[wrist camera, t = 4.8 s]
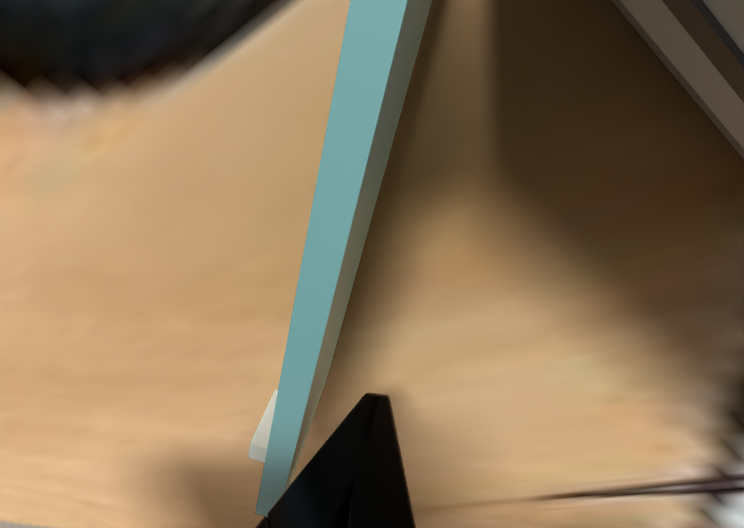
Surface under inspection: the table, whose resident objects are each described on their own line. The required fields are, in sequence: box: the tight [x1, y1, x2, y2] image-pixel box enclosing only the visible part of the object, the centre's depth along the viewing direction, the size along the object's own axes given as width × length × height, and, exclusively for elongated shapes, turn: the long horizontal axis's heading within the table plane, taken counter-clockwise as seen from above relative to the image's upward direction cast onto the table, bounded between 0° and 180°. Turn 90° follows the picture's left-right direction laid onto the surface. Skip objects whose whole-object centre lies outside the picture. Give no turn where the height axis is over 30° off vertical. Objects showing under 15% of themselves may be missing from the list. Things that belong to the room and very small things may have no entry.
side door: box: [248, 0, 432, 517], centre depth 8 cm, size 12×1×4 cm, turn 166°
